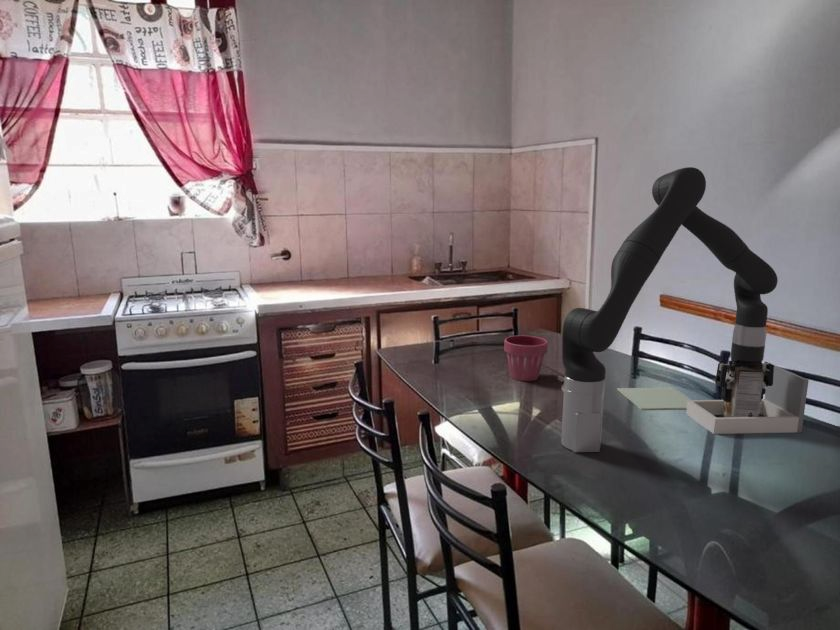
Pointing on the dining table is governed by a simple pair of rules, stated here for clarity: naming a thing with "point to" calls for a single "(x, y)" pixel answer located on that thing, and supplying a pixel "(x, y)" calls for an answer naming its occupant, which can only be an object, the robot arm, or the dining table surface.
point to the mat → (655, 398)
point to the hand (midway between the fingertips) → (741, 401)
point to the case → (778, 407)
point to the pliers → (561, 381)
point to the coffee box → (745, 392)
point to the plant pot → (525, 356)
